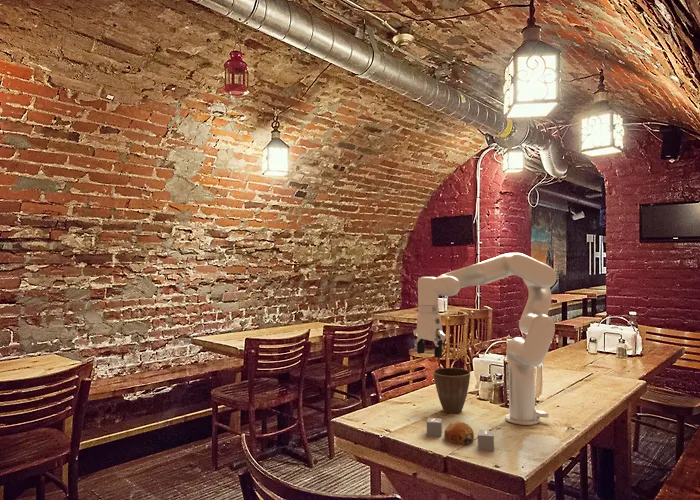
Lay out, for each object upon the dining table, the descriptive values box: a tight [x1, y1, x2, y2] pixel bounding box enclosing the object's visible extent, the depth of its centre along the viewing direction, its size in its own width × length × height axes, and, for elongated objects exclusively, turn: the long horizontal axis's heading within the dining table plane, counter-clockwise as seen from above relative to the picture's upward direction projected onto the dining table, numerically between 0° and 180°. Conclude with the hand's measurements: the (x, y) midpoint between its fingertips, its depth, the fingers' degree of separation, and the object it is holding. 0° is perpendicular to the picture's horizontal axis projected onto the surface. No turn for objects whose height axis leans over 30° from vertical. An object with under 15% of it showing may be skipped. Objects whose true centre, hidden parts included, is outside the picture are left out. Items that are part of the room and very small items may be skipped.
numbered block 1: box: [477, 429, 495, 452], centre depth 175 cm, size 5×5×5 cm
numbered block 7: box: [426, 417, 443, 438], centre depth 189 cm, size 5×5×5 cm
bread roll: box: [443, 420, 475, 445], centre depth 183 cm, size 10×10×8 cm
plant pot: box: [432, 367, 471, 414], centre depth 217 cm, size 15×15×16 cm
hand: (429, 355), depth 199 cm, fingers open, 9 cm apart
